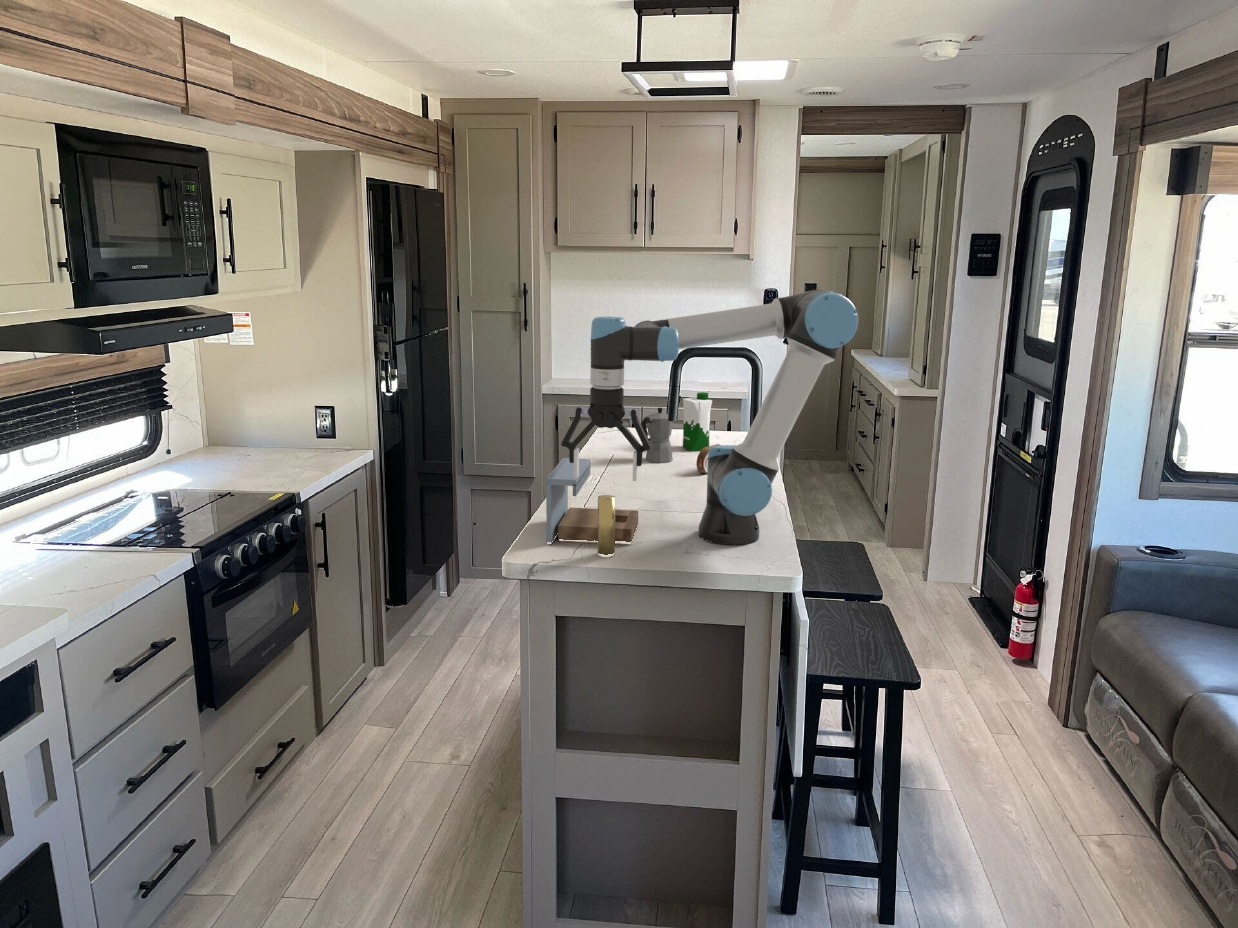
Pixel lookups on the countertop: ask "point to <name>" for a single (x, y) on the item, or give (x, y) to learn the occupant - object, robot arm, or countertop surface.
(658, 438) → the coffeepot
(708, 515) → the robot arm
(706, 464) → the brown curved piece
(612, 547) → the peg
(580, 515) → the socket block
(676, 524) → the countertop surface
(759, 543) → the countertop surface
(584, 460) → the blue-grey hooked bracket
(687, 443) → the milk carton
